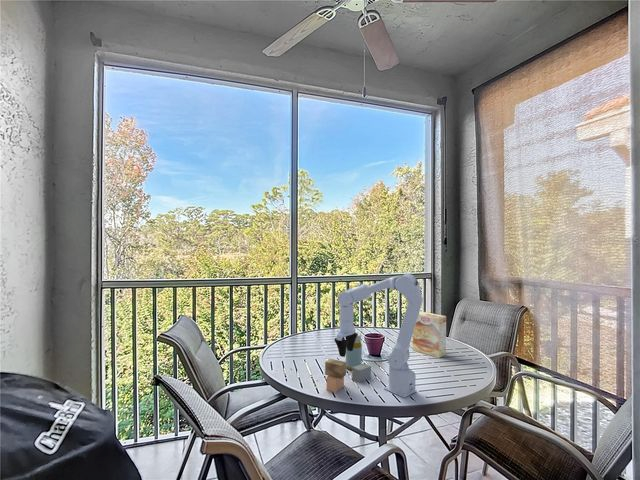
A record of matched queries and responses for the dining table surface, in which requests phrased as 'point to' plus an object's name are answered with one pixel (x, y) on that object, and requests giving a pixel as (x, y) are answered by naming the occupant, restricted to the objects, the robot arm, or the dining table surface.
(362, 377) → the slate brick
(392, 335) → the dining table surface
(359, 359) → the bottle
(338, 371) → the walnut brick
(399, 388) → the robot arm
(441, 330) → the coffeecake box
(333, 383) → the terracotta brick
